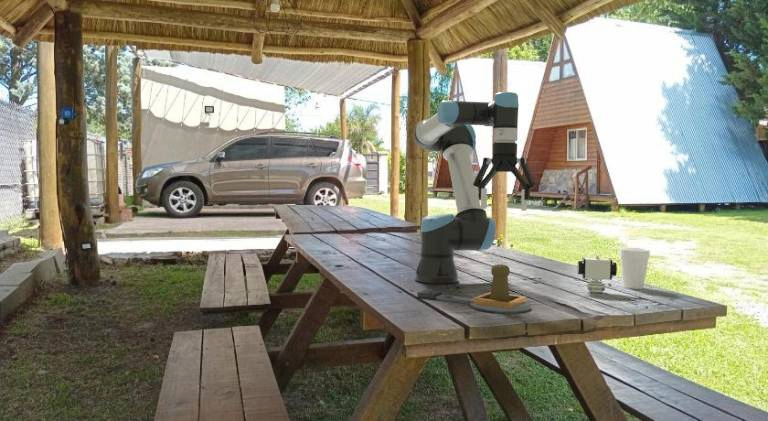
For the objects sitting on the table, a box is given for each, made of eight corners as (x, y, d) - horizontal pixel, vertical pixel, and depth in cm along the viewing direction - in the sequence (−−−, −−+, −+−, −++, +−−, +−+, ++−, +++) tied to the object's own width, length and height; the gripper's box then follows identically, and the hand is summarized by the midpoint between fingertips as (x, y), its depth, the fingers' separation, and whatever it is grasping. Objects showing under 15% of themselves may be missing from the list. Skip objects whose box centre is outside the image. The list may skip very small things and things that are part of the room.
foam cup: (634, 290, 208) (635, 251, 208) (612, 286, 217) (613, 248, 216) (654, 288, 213) (655, 250, 212) (632, 284, 221) (633, 247, 220)
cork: (511, 301, 181) (512, 264, 181) (508, 305, 176) (510, 266, 175) (490, 300, 183) (491, 262, 183) (487, 304, 178) (488, 265, 177)
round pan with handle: (538, 305, 182) (539, 296, 182) (516, 316, 168) (516, 306, 168) (434, 292, 201) (434, 283, 201) (406, 300, 187) (406, 291, 187)
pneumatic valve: (616, 294, 201) (617, 257, 200) (577, 292, 203) (579, 255, 203) (613, 291, 206) (614, 255, 206) (576, 289, 209) (577, 253, 208)
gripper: (464, 142, 202) (462, 208, 203) (539, 141, 188) (537, 211, 189) (474, 143, 208) (472, 207, 209) (547, 142, 194) (545, 210, 195)
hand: (503, 209), depth 199 cm, fingers open, 13 cm apart
